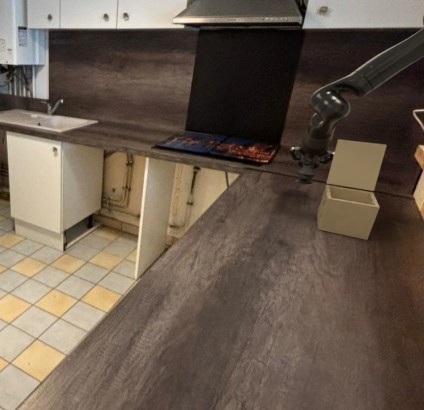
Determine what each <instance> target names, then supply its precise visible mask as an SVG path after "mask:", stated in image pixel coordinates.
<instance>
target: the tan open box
mask: <svg viewBox="0 0 424 410" xmlns="http://www.w3.org/2000/svg"><path fill="white" fill-rule="evenodd" d="M380 208H381V207H380V204H379V203H378V200H377V198H376V196H375V193H374V191H368V190H364V191H361V190H354V189H348V188H342V187H339V186H337V185H330V184H325V187H324V190H323V194H322V197H321V200H320V203H319V206H318V210H317V213H316V218H317V221H316V222H317V231H318V230H319V231H322V232H323V231H324V232H328V233H333V234H337V235H342V236H347V237H352V238H356V239H361V240H365V241H368V239H369V237H370V234H371V232H372V229H373V226H374V224H375V221H376V219H377V215H378V214H379V210H380Z"/></svg>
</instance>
